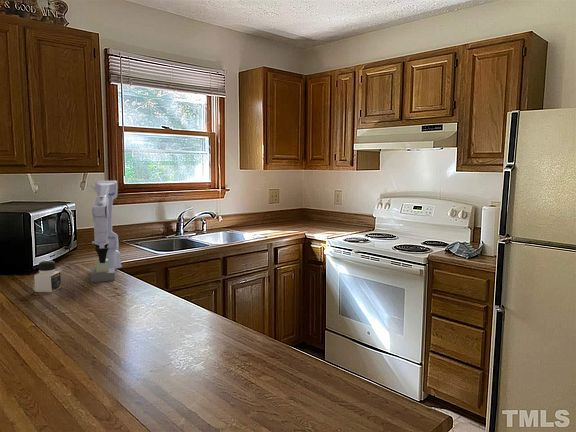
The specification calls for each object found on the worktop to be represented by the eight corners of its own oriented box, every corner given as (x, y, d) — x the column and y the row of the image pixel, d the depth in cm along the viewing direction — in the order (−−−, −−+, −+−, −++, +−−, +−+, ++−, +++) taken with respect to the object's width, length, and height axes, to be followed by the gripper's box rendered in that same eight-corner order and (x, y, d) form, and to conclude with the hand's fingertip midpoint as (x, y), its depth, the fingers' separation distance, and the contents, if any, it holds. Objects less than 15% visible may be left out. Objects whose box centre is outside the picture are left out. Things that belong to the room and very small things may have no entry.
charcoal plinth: (92, 277, 205) (91, 268, 204) (115, 275, 208) (115, 267, 208) (90, 282, 196) (90, 274, 195) (114, 281, 199) (114, 272, 199)
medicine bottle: (52, 292, 180) (50, 263, 178) (34, 292, 180) (33, 263, 178) (61, 287, 187) (60, 259, 185) (44, 287, 187) (43, 259, 185)
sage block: (96, 269, 203) (95, 259, 202) (108, 268, 205) (107, 258, 204) (96, 272, 198) (96, 261, 197) (108, 271, 200) (108, 260, 200)
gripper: (91, 229, 204) (92, 258, 206) (91, 234, 191) (92, 265, 193) (108, 229, 207) (109, 257, 209) (108, 233, 194) (110, 264, 196)
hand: (102, 261), depth 201 cm, fingers open, 7 cm apart
